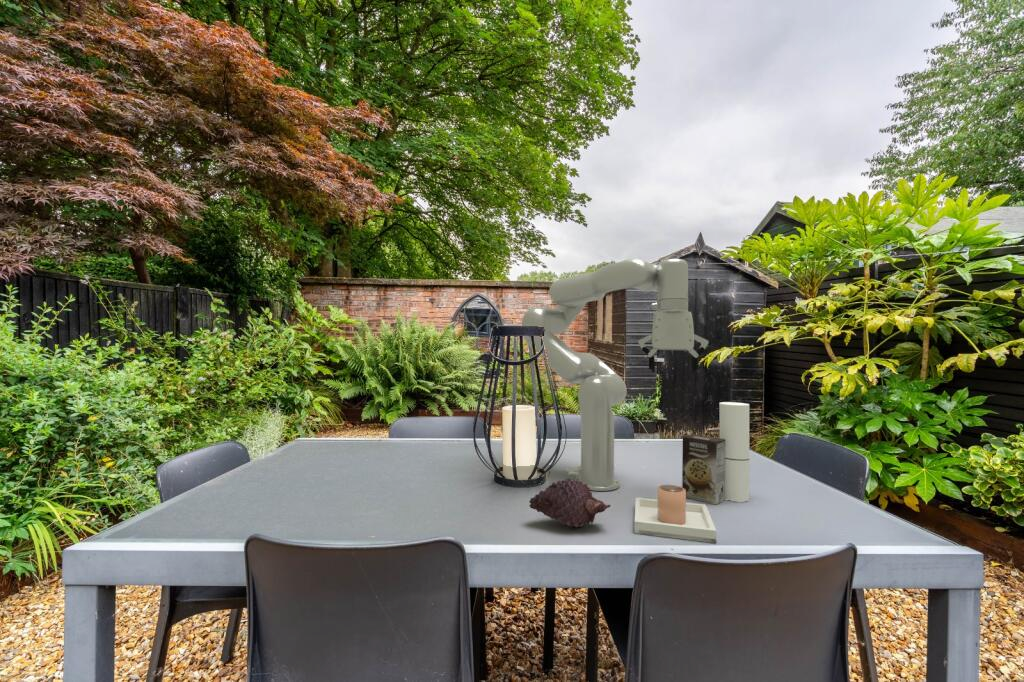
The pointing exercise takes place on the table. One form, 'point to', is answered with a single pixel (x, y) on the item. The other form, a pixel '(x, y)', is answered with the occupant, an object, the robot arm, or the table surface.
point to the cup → (671, 504)
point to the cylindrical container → (735, 449)
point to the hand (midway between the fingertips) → (672, 372)
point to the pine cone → (568, 503)
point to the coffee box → (703, 468)
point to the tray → (694, 528)
